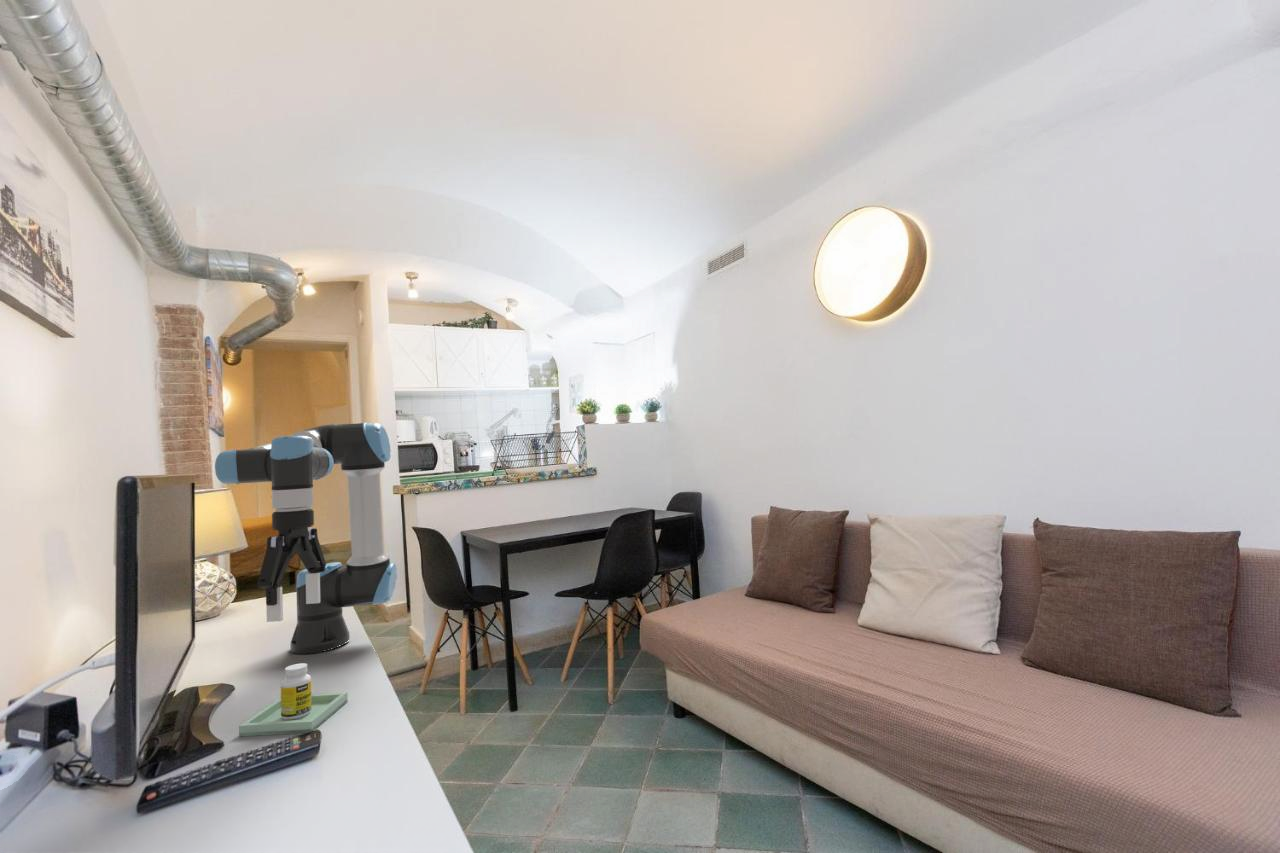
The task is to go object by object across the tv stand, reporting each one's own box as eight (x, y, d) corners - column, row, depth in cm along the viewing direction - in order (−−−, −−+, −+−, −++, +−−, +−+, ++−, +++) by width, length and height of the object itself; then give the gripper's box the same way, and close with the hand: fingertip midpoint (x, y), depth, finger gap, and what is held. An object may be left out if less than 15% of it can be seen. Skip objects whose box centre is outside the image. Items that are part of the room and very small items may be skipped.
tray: (283, 705, 125) (282, 696, 125) (347, 701, 125) (347, 692, 125) (239, 736, 111) (238, 725, 111) (311, 732, 111) (311, 721, 111)
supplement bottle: (297, 721, 115) (296, 671, 115) (274, 720, 116) (273, 671, 116) (317, 709, 120) (316, 662, 121) (295, 708, 121) (294, 661, 122)
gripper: (308, 505, 133) (310, 597, 132) (233, 516, 108) (235, 630, 107) (341, 503, 133) (343, 595, 132) (274, 514, 108) (276, 628, 107)
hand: (295, 611), depth 119 cm, fingers open, 13 cm apart
